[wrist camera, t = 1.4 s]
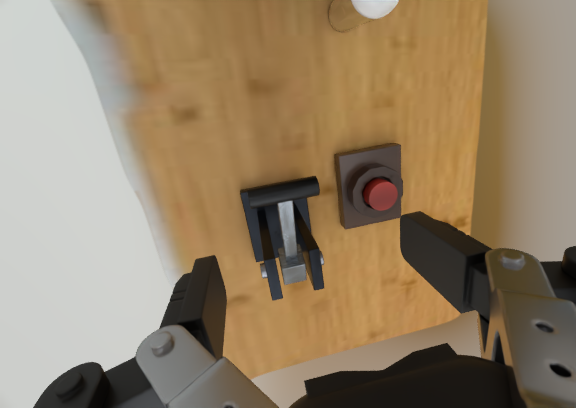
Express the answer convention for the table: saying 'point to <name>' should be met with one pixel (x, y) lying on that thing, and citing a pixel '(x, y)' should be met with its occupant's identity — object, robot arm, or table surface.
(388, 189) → the button
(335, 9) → the milkshake
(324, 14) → the table surface
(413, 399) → the robot arm
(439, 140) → the table surface
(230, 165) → the table surface
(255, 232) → the switch bracket
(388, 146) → the button block
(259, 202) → the switch lever
